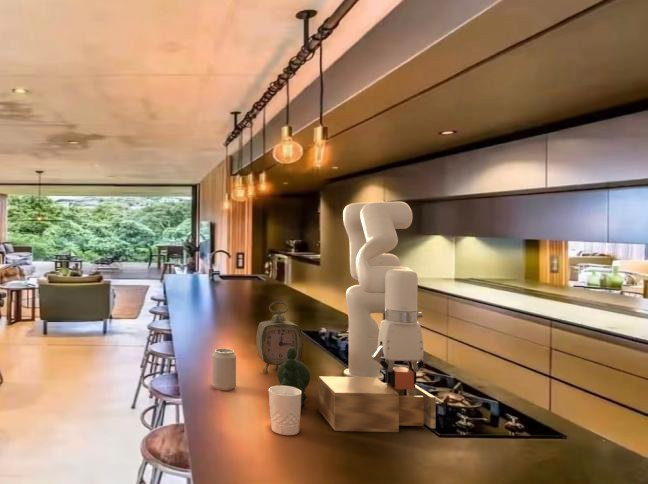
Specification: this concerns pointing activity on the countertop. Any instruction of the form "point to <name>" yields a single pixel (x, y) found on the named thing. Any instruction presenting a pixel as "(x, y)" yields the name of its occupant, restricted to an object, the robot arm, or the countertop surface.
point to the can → (224, 369)
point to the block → (403, 378)
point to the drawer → (417, 407)
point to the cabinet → (358, 404)
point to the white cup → (285, 409)
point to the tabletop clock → (278, 339)
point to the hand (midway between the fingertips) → (400, 385)
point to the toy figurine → (294, 374)
